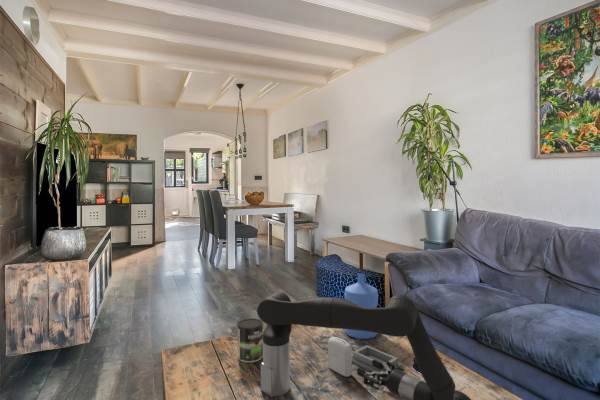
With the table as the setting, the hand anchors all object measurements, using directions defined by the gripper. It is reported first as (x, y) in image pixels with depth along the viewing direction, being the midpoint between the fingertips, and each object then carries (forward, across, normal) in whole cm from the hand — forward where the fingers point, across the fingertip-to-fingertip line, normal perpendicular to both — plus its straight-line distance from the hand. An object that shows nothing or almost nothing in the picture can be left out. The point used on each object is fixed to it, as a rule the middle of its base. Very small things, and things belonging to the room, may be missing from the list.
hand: (365, 366), depth 126 cm
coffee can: (+44, +19, +7) cm, 49 cm away
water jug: (+28, -33, +7) cm, 44 cm away
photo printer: (+12, 0, +7) cm, 14 cm away
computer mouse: (-8, -26, +7) cm, 28 cm away
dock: (+6, -14, +7) cm, 17 cm away
